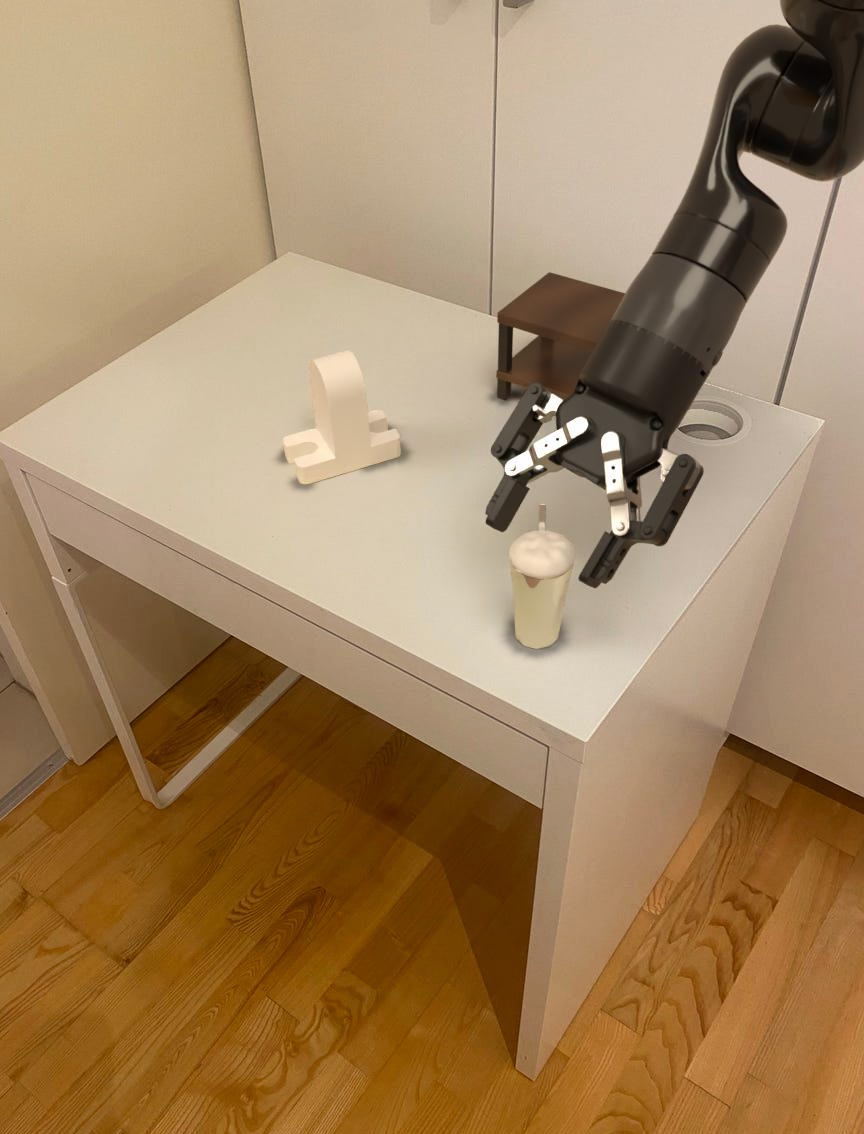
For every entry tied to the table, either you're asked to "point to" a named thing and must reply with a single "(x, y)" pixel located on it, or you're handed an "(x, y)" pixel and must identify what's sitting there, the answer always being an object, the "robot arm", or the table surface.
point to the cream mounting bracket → (340, 424)
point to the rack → (553, 333)
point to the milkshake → (540, 583)
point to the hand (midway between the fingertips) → (539, 555)
